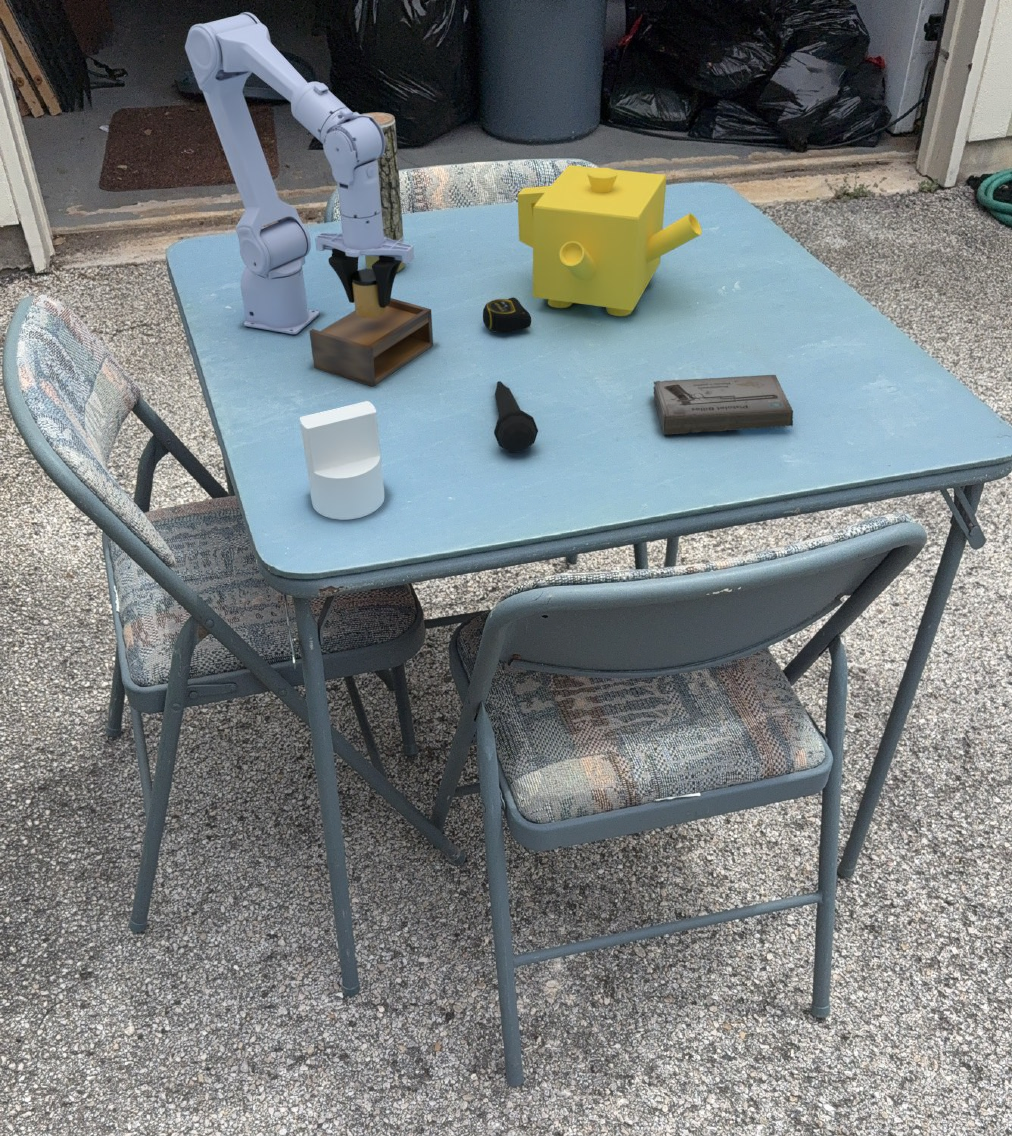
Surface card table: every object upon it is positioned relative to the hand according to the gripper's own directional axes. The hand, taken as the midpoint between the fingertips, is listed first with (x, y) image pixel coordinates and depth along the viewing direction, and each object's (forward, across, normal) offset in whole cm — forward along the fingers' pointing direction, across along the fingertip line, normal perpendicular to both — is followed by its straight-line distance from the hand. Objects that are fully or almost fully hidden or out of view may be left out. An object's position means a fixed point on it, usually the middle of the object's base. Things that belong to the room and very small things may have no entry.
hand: (369, 302), depth 165 cm
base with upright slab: (+9, +14, -35) cm, 39 cm away
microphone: (+9, +26, -11) cm, 30 cm away
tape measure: (+9, +16, +16) cm, 24 cm away
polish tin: (+1, 0, 0) cm, 1 cm away
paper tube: (+9, -12, +30) cm, 34 cm away
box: (+9, +52, 0) cm, 53 cm away
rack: (+9, 0, 0) cm, 9 cm away
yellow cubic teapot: (+9, +26, +32) cm, 42 cm away
